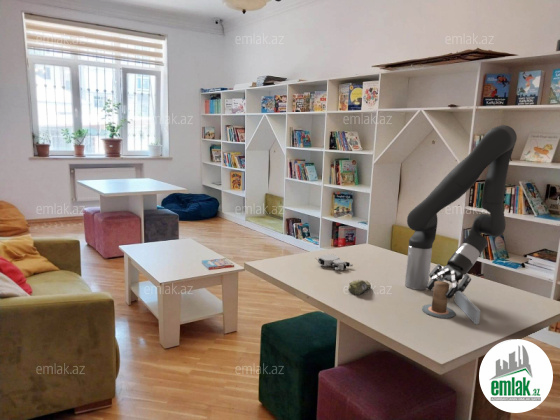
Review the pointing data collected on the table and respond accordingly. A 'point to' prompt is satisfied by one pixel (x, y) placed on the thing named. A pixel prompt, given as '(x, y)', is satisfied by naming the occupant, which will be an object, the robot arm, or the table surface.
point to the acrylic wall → (467, 307)
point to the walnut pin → (440, 296)
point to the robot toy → (333, 262)
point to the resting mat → (429, 311)
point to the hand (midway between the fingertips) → (437, 293)
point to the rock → (358, 286)
